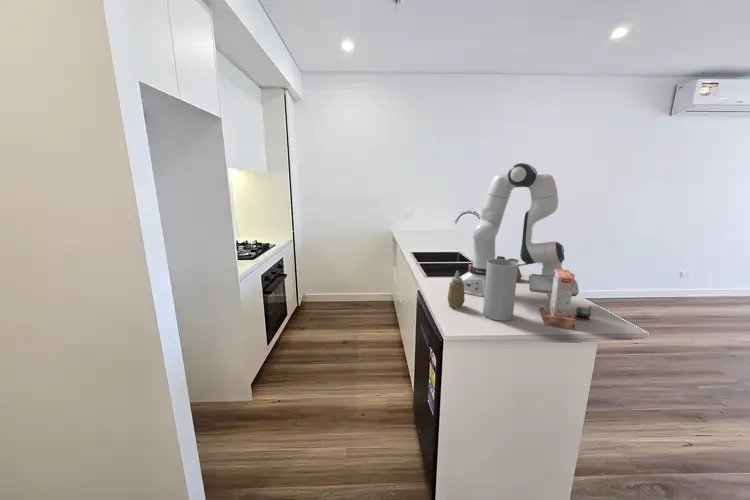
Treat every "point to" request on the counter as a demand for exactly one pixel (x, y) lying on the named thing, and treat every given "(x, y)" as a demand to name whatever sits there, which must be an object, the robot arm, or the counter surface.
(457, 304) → the squeeze bottle
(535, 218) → the robot arm
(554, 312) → the cracker box
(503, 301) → the cylinder vase
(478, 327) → the counter surface
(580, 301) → the counter surface
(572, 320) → the bay
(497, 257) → the supplement bottle
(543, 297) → the counter surface
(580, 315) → the winch drum
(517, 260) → the coffee pot
